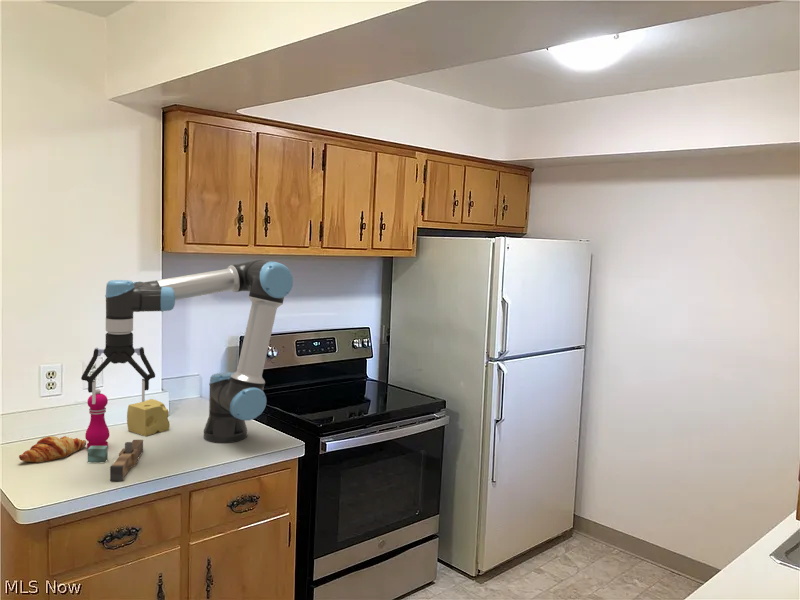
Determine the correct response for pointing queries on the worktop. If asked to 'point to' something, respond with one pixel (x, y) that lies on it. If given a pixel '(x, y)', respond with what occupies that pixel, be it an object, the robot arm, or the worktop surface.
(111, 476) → the leg
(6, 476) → the worktop surface
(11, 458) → the worktop surface
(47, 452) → the croissant
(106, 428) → the pepper mill
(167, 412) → the cheese
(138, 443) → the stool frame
